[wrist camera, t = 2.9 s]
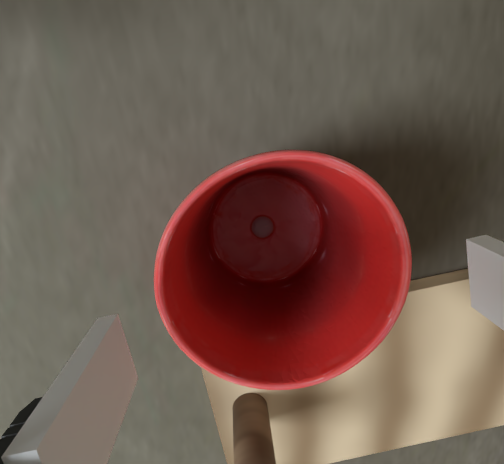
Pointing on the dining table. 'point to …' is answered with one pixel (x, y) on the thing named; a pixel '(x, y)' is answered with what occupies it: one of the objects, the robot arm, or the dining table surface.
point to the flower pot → (283, 270)
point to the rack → (378, 389)
